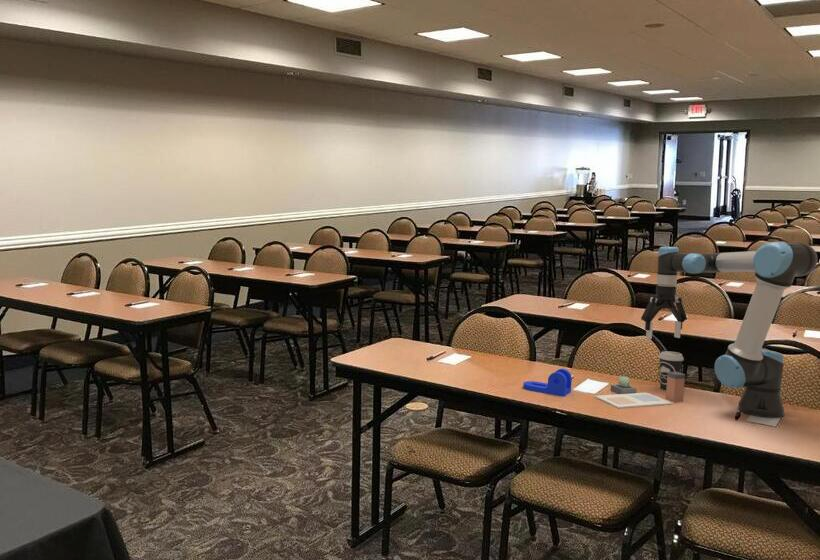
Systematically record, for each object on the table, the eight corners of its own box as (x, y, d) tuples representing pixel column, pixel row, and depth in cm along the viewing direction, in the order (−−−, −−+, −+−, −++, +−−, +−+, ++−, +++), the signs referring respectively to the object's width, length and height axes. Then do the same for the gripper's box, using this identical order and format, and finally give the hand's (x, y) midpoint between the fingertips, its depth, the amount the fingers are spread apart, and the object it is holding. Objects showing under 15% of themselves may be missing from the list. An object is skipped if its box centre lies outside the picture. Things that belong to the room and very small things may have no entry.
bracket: (570, 392, 272) (572, 370, 272) (564, 397, 265) (565, 374, 264) (527, 385, 281) (528, 363, 280) (520, 389, 274) (521, 367, 273)
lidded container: (683, 401, 264) (685, 374, 263) (673, 402, 263) (675, 374, 262) (675, 398, 269) (677, 371, 268) (665, 398, 267) (667, 372, 266)
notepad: (672, 404, 260) (672, 402, 259) (618, 408, 252) (618, 406, 252) (646, 393, 274) (646, 392, 274) (594, 397, 266) (594, 395, 266)
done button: (631, 388, 273) (631, 378, 273) (622, 389, 272) (623, 379, 272) (624, 385, 277) (625, 376, 277) (616, 386, 276) (616, 376, 275)
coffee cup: (683, 393, 276) (686, 356, 275) (658, 391, 278) (661, 354, 277) (679, 387, 286) (681, 351, 284) (654, 385, 288) (657, 350, 286)
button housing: (636, 394, 273) (636, 388, 272) (621, 395, 270) (621, 389, 270) (625, 389, 279) (625, 383, 279) (610, 390, 277) (610, 384, 277)
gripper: (685, 284, 284) (682, 335, 286) (634, 284, 276) (630, 337, 278) (698, 286, 277) (695, 338, 279) (645, 286, 269) (642, 340, 271)
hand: (663, 337), depth 279 cm, fingers open, 13 cm apart
